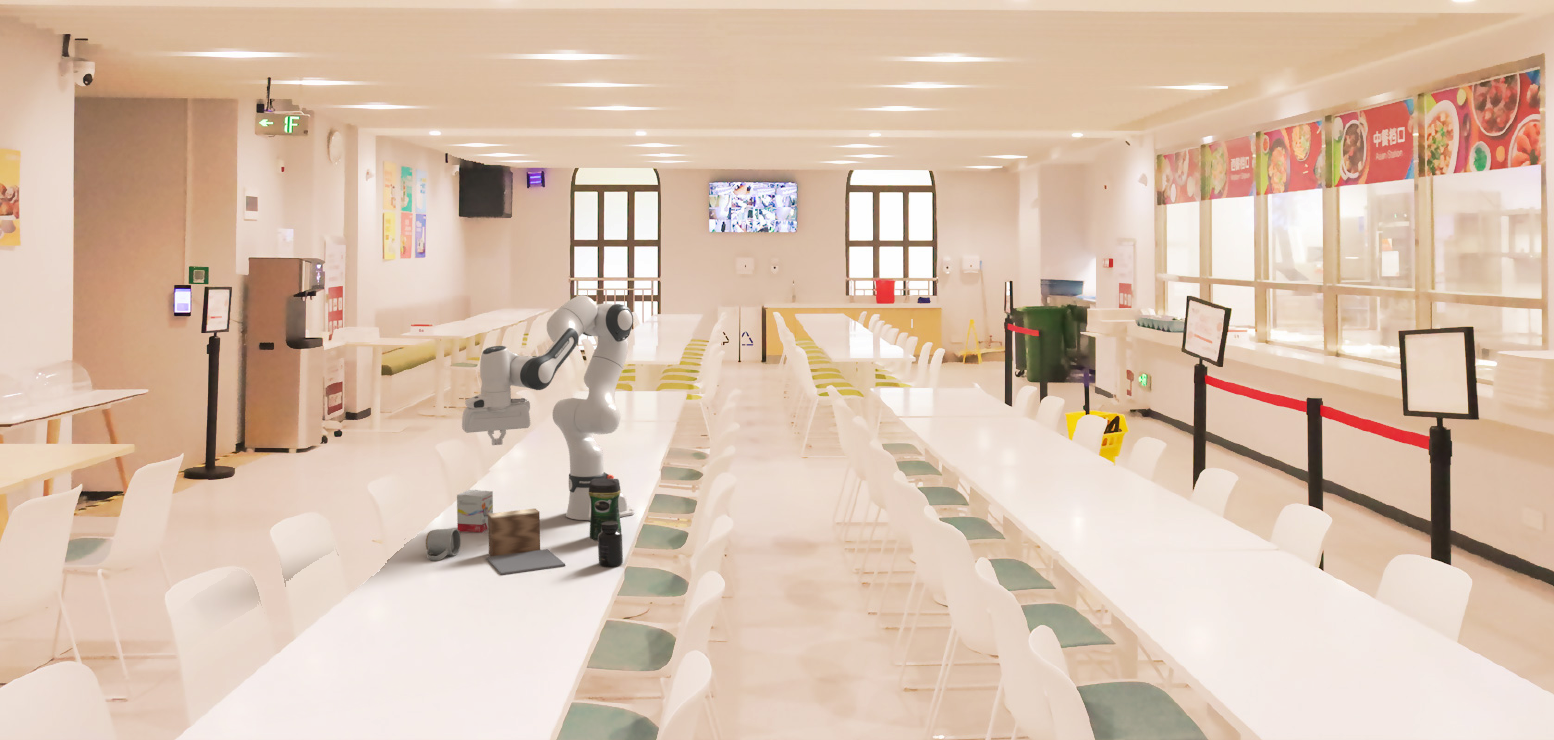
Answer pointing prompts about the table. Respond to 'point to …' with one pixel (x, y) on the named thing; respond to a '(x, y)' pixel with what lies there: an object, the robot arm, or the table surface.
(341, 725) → the table surface
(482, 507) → the ink box
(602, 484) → the coffee jar
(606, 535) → the supplement bottle
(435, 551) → the ceramic mug
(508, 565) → the mat
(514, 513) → the walnut slab
